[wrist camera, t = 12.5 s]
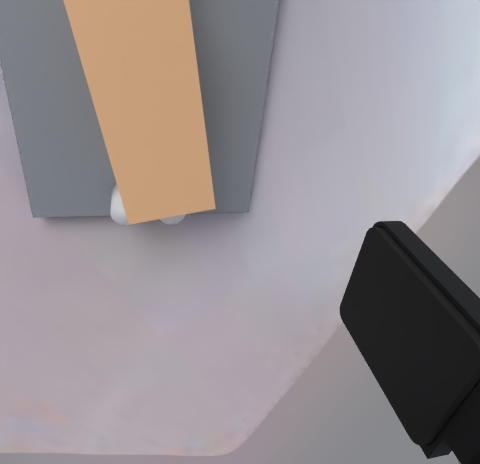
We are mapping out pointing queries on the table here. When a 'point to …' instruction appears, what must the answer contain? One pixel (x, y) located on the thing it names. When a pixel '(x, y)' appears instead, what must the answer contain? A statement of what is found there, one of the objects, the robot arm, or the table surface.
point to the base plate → (85, 118)
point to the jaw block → (147, 102)
